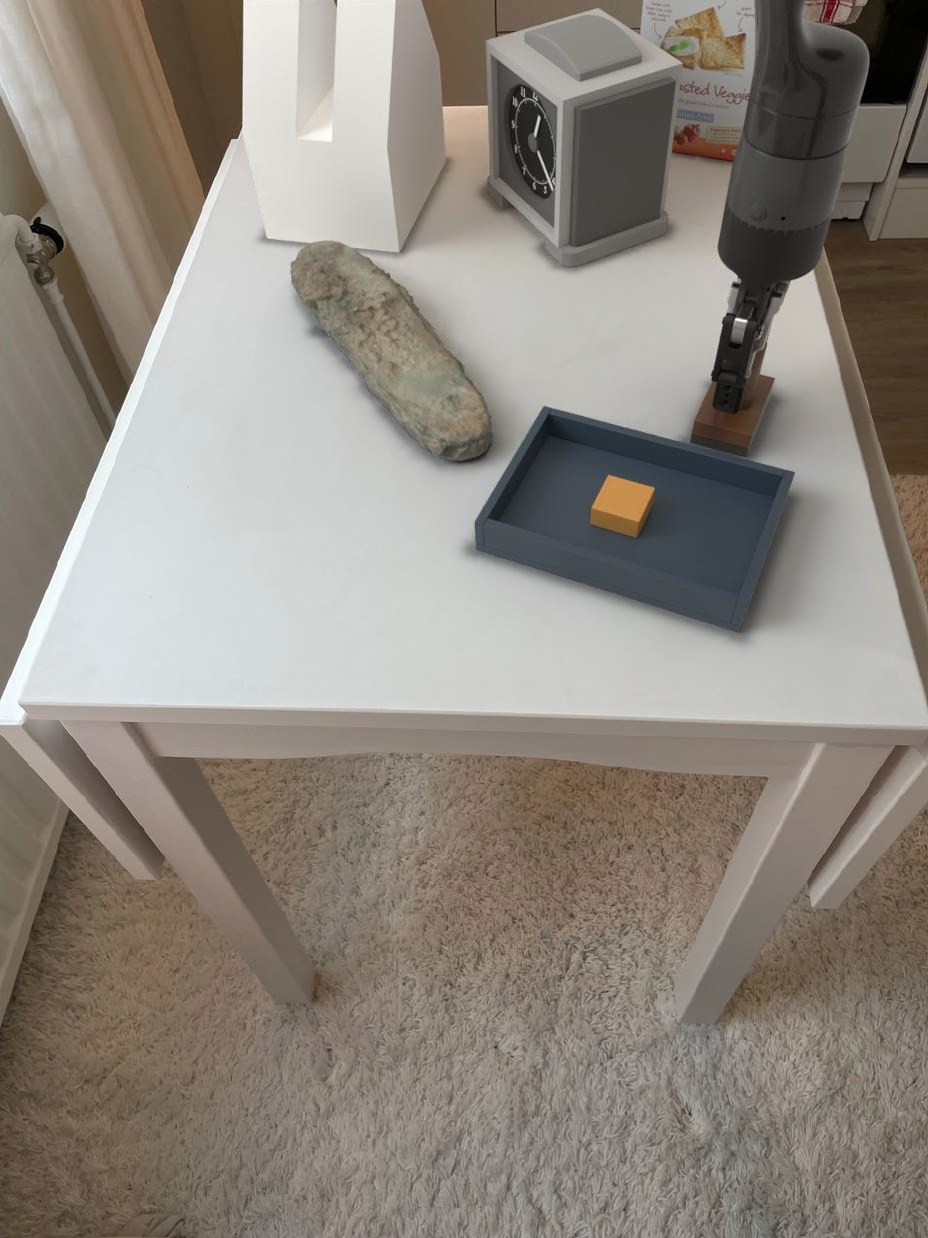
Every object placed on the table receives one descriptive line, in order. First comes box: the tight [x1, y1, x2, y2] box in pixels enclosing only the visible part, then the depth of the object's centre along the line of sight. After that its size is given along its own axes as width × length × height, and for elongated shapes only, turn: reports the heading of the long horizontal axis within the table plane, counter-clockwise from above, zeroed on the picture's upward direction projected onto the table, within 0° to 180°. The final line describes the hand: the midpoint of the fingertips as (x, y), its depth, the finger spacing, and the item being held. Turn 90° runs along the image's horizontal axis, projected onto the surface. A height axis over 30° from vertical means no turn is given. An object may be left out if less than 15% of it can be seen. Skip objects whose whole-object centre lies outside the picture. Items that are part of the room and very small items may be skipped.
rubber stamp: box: [689, 333, 776, 458], centre depth 81 cm, size 5×8×8 cm, turn 155°
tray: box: [473, 405, 796, 633], centre depth 77 cm, size 22×15×3 cm
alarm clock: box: [485, 7, 683, 268], centre depth 99 cm, size 18×13×18 cm
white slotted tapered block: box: [241, 0, 447, 254], centre depth 100 cm, size 19×15×25 cm
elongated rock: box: [289, 240, 494, 462], centre depth 91 cm, size 35×5×10 cm
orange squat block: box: [590, 475, 655, 538], centre depth 77 cm, size 4×4×2 cm
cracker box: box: [639, 0, 755, 162], centre depth 105 cm, size 14×6×21 cm, turn 68°
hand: (738, 378), depth 81 cm, fingers open, 8 cm apart
